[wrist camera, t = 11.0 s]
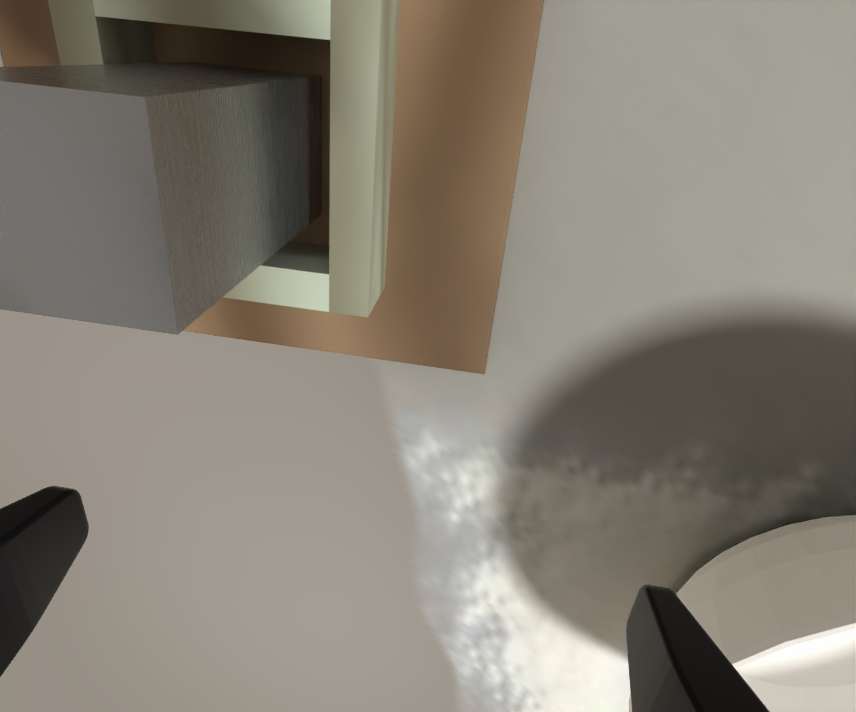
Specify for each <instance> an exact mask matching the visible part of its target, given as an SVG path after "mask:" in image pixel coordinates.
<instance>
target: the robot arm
mask: <svg viewBox="0 0 856 712" xmlns="http://www.w3.org/2000/svg"><path fill="white" fill-rule="evenodd" d="M88 528H89V526H88V521H87V518H86V514H85V510H84V506H83V503H82V499H81V496H80V494H79V492H78V491H77V490H74V489H70V488H64V487H58V486H51V487H47V488H44V489H42V490H40V491H38V492H36V493H34V494H31V495H29V496H27V497H25V498H23V499H21V500H18V501H16V502H14V503H12V504H10V505H8V506H6V507H3V508H1V509H0V677H1V675H2V674H3V673H4V671H5V670H6V668H7V667H8V666H9V664H10V663H11V661H12V660H13V658H14V657H15V656H16V654H17V653H18V651H19V650H20V649H21V647H22V646H23V644H24V643H25V641H26V640H27V638H28V637H29V635H30V634H31V632H32V631H33V629H34V628H35V626H36V625H37V623H38V621H39V620H40V618H41V617H42V615H43V613H44V611H45V610H46V608H47V606H48V605H49V603H50V601H51V600H52V598H53V596H54V594H55V593H56V591H57V589H58V587H59V585H60V584H61V582H62V581H63V579H64V577H65V575H66V573H67V572H68V570H69V568H70V566H71V565H72V563H73V561H74V560H75V558H76V556H77V554H78V553H79V551H80V549H81V548H82V546H83V544H84V542H85V540H86V538H87V535H88ZM626 636H627V650H628V663H629V677H630V690H631V703H632V712H770V711H769V710H768V709H767V708H766V706H765V705H764V704H763V703H762V701H761V700H760V699H759V698H758V696H757V695H756V694H755V693H754V691H753V690H752V689H751V688H750V686H749V685H748V684H747V683H746V681H745V680H744V679H743V678H742V676H741V675H740V674H739V673H738V671H737V670H736V669H735V668H734V666H733V665H732V664H731V663H730V661H729V660H728V659H727V658H726V656H725V655H724V654H723V653H722V651H721V650H720V649H719V648H718V646H717V645H716V644H715V643H714V641H713V640H712V639H711V638H710V636H709V635H708V634H707V633H706V631H705V630H704V629H703V628H702V626H701V625H700V624H699V623H698V621H697V620H696V619H695V618H694V616H693V615H692V614H691V613H690V611H689V610H688V609H687V608H686V606H685V605H684V604H683V603H682V601H681V600H680V599H679V598H678V596H677V595H676V594H675V593H674V592H673V591H672V590H670V589H668V588H664V587H658V586H652V585H644V586H642V587H641V588H640V590H639V592H638V595H637V597H636V600H635V602H634V605H633V607H632V610H631V613H630V615H629V618H628V621H627V628H626Z"/></svg>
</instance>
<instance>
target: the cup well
mask: <svg viewBox="0 0 856 712" xmlns="http://www.w3.org/2000/svg"><path fill="white" fill-rule="evenodd" d="M543 4H544V0H0V50H1V55H2V59H3V63H4V67H21V66H58V65H95V64H133V63H170V62H194V63H204V64H213V65H223V66H232V67H242V68H251V69H261V70H270V71H279V72H289V73H298V74H308V75H317V76H322V214H321V215H320V216H319V217H317V218H316V219H315V220H314V221H313V222H311V223H310V224H309V225H308V226H307V227H305V228H304V229H303V230H302V231H301V232H300V233H298V234H297V235H296V236H295V237H294V238H292V239H291V240H290V241H289V242H288V243H286V244H285V245H284V246H283V247H282V248H280V249H279V250H278V251H277V252H276V253H275V254H273V255H272V256H271V257H270V258H269V259H267V260H266V261H265V262H264V263H263V264H261V265H260V266H259V267H258V268H257V269H255V270H254V271H253V272H252V273H251V274H250V275H248V276H247V277H246V278H245V279H244V280H242V281H241V282H240V283H239V284H238V285H236V286H235V287H234V288H233V289H232V290H230V291H229V292H228V293H227V294H226V295H224V296H223V297H222V298H221V299H220V300H219V301H217V302H216V303H215V304H214V305H213V306H211V307H210V308H209V309H208V310H207V311H205V312H204V313H203V314H202V315H201V316H199V317H198V318H197V319H196V320H195V321H194V322H192V323H191V324H190V325H189V326H188V327H186V328H185V329H184V330H183V331H187V332H194V333H202V334H208V335H215V336H222V337H229V338H237V339H243V340H250V341H257V342H264V343H271V344H278V345H285V346H292V347H299V348H306V349H313V350H320V351H327V352H334V353H341V354H348V355H355V356H362V357H368V358H375V359H382V360H389V361H396V362H403V363H410V364H417V365H424V366H431V367H438V368H445V369H452V370H459V371H466V372H473V373H480V374H485V369H486V363H487V357H488V350H489V344H490V338H491V331H492V325H493V319H494V313H495V306H496V300H497V294H498V287H499V281H500V275H501V269H502V262H503V256H504V250H505V243H506V237H507V231H508V225H509V218H510V212H511V206H512V199H513V193H514V187H515V181H516V174H517V168H518V162H519V155H520V149H521V143H522V137H523V130H524V124H525V118H526V111H527V105H528V99H529V92H530V86H531V80H532V74H533V67H534V61H535V55H536V48H537V42H538V36H539V30H540V23H541V17H542V11H543Z"/></svg>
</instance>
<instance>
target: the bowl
mask: <svg viewBox="0 0 856 712" xmlns="http://www.w3.org/2000/svg"><path fill="white" fill-rule="evenodd" d="M676 595H677V596H678V598H679V599H680V600H681V601H682V603H683V604H684V605H685V606H686V608H687V609H688V610H689V611H690V613H691V614H692V615H693V616H694V618H695V619H696V620H697V621H698V623H699V624H700V625H701V626H702V628H703V629H704V630H705V631H706V633H707V634H708V635H709V636H710V638H711V639H712V640H713V641H714V643H715V644H716V645H717V646H718V648H719V649H720V650H721V651H722V653H723V654H724V655H725V656H726V658H727V659H728V660H729V661H730V663H731V664H732V665H733V666H734V668H735V669H736V670H737V671H738V673H739V674H740V675H741V676H742V678H743V679H744V680H745V681H746V683H747V684H748V685H749V686H750V688H751V689H752V690H753V691H754V693H755V694H756V695H757V696H758V698H759V699H760V700H761V701H762V703H763V704H764V705H765V706H766V708H767V709H768V710H769V711H770V712H856V515H848V516H835V517H823V518H818V519H814V520H809V521H804V522H799V523H794V524H789V525H785V526H782V527H779V528H776V529H774V530H771V531H768V532H765V533H762V534H759V535H756V536H753V537H751V538H749V539H747V540H745V541H743V542H741V543H739V544H737V545H735V546H733V547H731V548H729V549H727V550H726V551H724V552H722V553H720V554H719V555H717V556H716V557H715V558H713V559H712V560H711V561H709V562H708V563H707V564H705V565H704V566H703V567H701V568H700V569H699V570H697V571H696V572H695V573H694V575H693V576H692V577H691V578H690V579H689V580H688V581H687V582H686V583H685V584H684V585H683V587H682V588H681V589H680V590H679V591H678V592H677V594H676ZM629 712H632V703H631V694H630V699H629Z"/></svg>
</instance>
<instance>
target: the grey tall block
mask: <svg viewBox="0 0 856 712" xmlns="http://www.w3.org/2000/svg"><path fill="white" fill-rule="evenodd" d="M321 214H322V76H317V75H308V74H298V73H289V72H279V71H270V70H261V69H251V68H242V67H232V66H223V65H213V64H204V63H194V62H170V63H133V64H95V65H58V66H21V67H0V309H3V310H10V311H16V312H24V313H31V314H38V315H44V316H51V317H58V318H65V319H73V320H79V321H86V322H93V323H100V324H107V325H114V326H122V327H128V328H136V329H142V330H149V331H156V332H163V333H170V334H179V333H180V332H181V331H183V330H184V329H185V328H186V327H188V326H189V325H190V324H191V323H192V322H194V321H195V320H196V319H197V318H198V317H199V316H201V315H202V314H203V313H204V312H205V311H207V310H208V309H209V308H210V307H211V306H213V305H214V304H215V303H216V302H217V301H219V300H220V299H221V298H222V297H223V296H224V295H226V294H227V293H228V292H229V291H230V290H232V289H233V288H234V287H235V286H236V285H238V284H239V283H240V282H241V281H242V280H244V279H245V278H246V277H247V276H248V275H250V274H251V273H252V272H253V271H254V270H255V269H257V268H258V267H259V266H260V265H261V264H263V263H264V262H265V261H266V260H267V259H269V258H270V257H271V256H272V255H273V254H275V253H276V252H277V251H278V250H279V249H280V248H282V247H283V246H284V245H285V244H286V243H288V242H289V241H290V240H291V239H292V238H294V237H295V236H296V235H297V234H298V233H300V232H301V231H302V230H303V229H304V228H305V227H307V226H308V225H309V224H310V223H311V222H313V221H314V220H315V219H316V218H317V217H319V216H320V215H321Z"/></svg>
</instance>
